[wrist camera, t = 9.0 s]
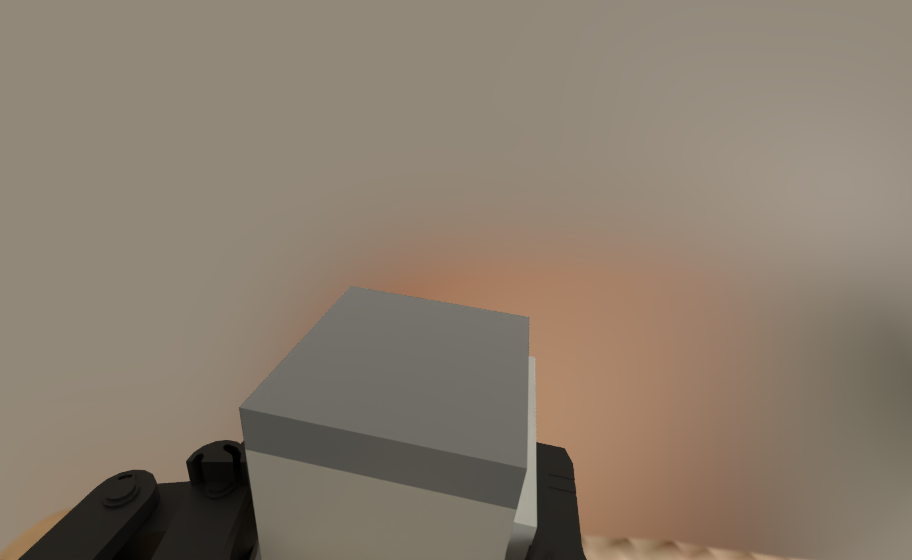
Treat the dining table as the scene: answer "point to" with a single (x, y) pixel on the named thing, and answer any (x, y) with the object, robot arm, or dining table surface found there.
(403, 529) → the plug
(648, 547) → the dining table surface
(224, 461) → the robot arm
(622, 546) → the dining table surface
